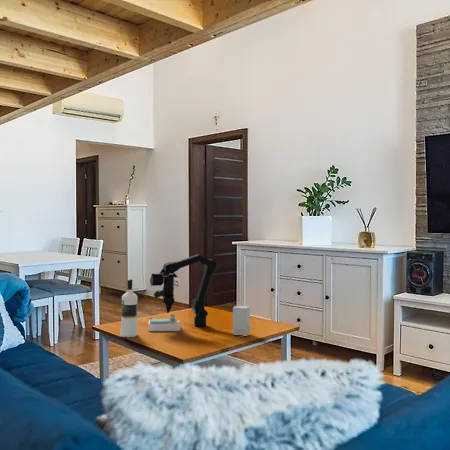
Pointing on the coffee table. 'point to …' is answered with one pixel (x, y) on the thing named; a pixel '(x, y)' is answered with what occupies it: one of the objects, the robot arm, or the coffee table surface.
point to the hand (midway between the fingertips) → (168, 312)
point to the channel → (164, 326)
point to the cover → (164, 320)
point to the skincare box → (241, 320)
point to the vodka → (129, 313)
